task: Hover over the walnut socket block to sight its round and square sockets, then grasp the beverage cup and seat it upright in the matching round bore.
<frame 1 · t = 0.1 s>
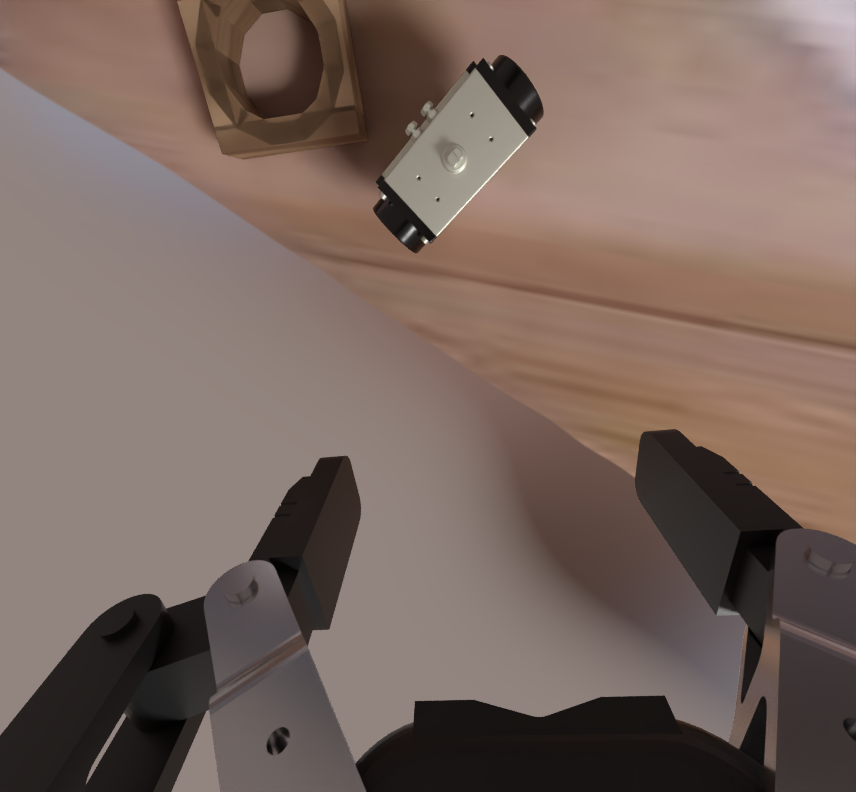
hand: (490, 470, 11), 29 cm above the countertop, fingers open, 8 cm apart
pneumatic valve: (448, 171, 33), on the countertop
socket block: (276, 19, 29), on the countertop
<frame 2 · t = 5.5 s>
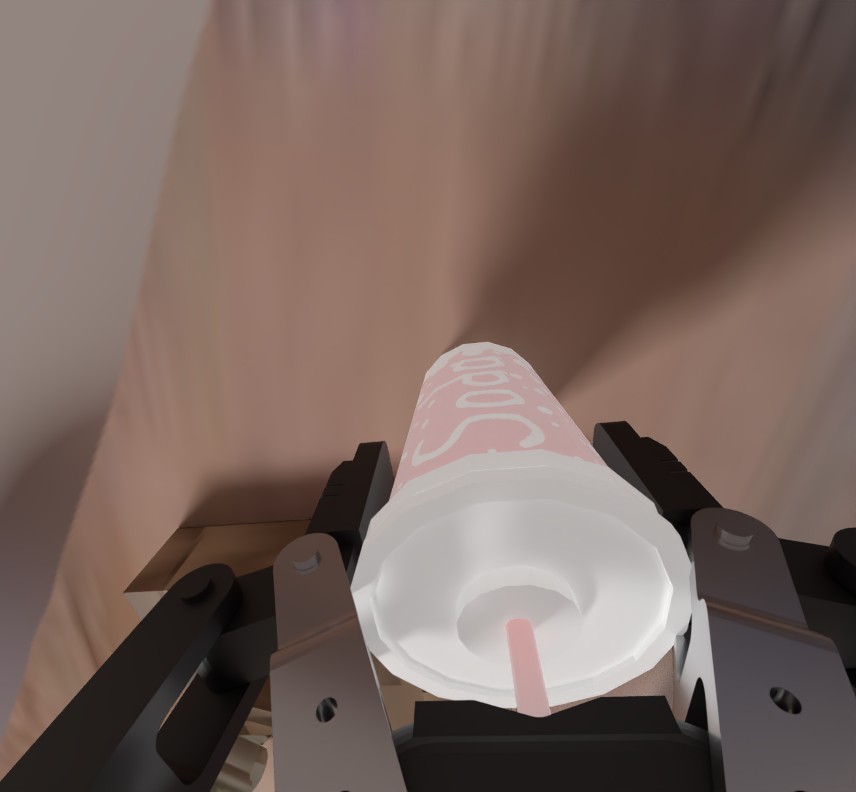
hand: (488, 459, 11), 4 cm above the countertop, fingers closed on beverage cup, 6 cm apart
beverage cup: (478, 396, 15), on the countertop, touching gripper
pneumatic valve: (240, 719, 27), on the countertop
socket block: (369, 597, 20), on the countertop
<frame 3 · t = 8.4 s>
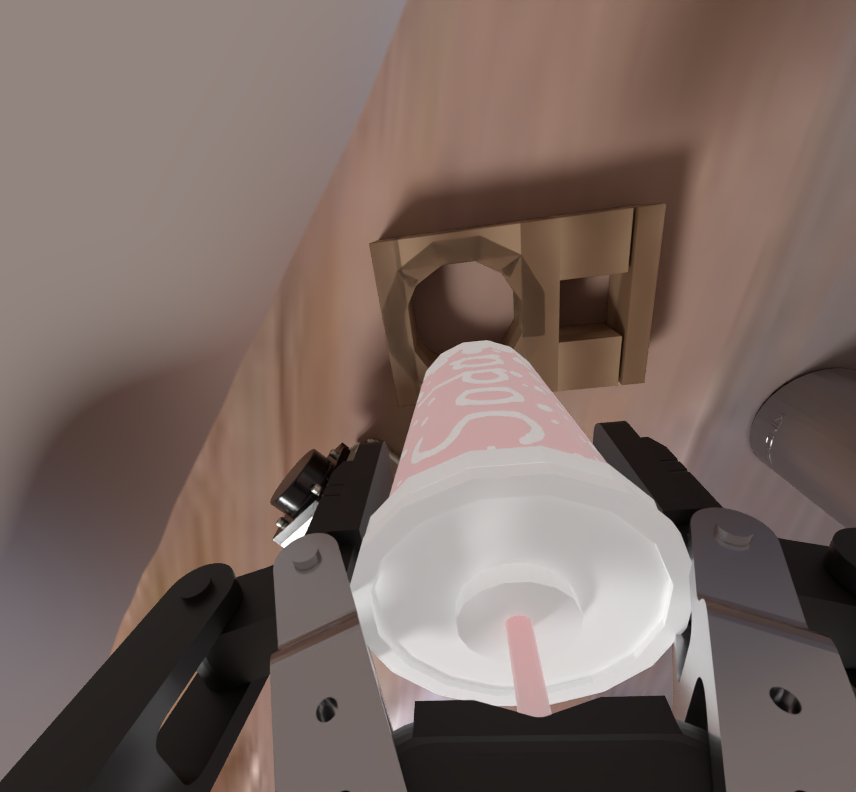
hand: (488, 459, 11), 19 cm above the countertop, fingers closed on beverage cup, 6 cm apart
beverage cup: (478, 394, 15), point 14 cm above the countertop, touching gripper
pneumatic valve: (381, 455, 34), on the countertop
socket block: (507, 305, 28), on the countertop
when the fingers open (6 cm above the countertop, at t = 11.2 s): beverage cup drops 1 cm, resting in socket block.
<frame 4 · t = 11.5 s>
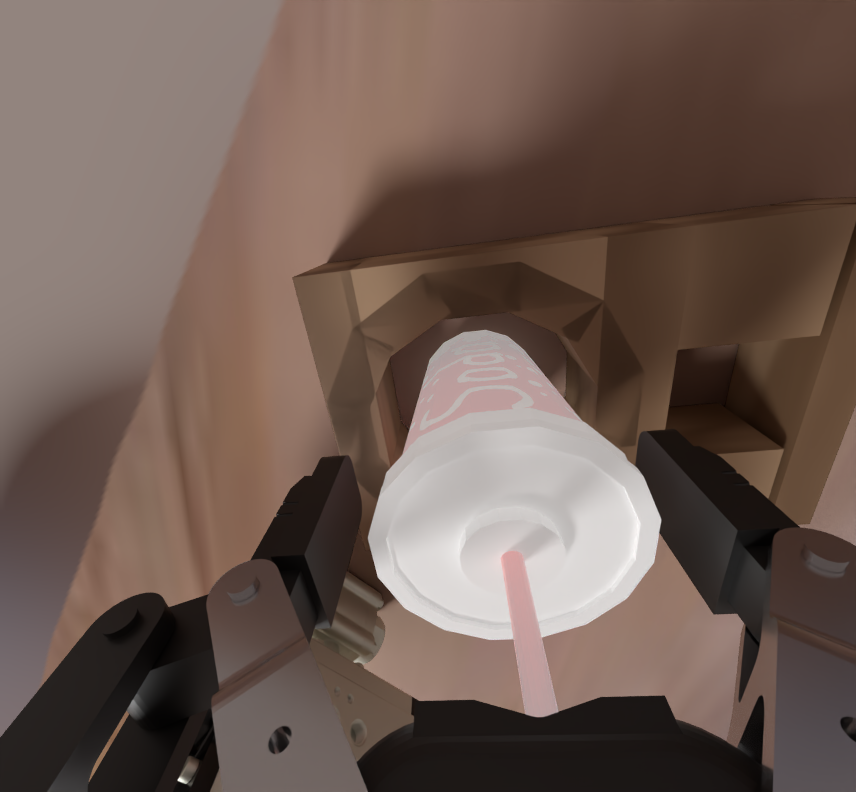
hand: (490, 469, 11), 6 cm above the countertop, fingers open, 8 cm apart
beverage cup: (478, 380, 16), resting in socket block
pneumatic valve: (348, 584, 22), on the countertop
socket block: (555, 375, 16), on the countertop
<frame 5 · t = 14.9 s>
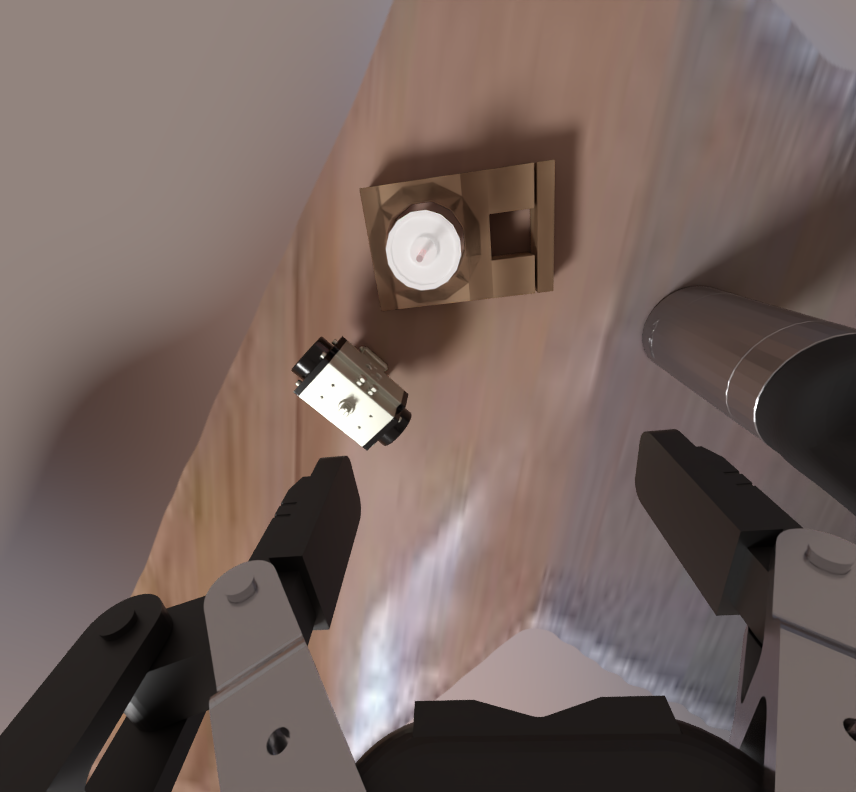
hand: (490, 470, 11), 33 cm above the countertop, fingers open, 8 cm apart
beverage cup: (428, 243, 39), resting in socket block
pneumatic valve: (370, 361, 45), on the countertop
socket block: (459, 239, 39), on the countertop
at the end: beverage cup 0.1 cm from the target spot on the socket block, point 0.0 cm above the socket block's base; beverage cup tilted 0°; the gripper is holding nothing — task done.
